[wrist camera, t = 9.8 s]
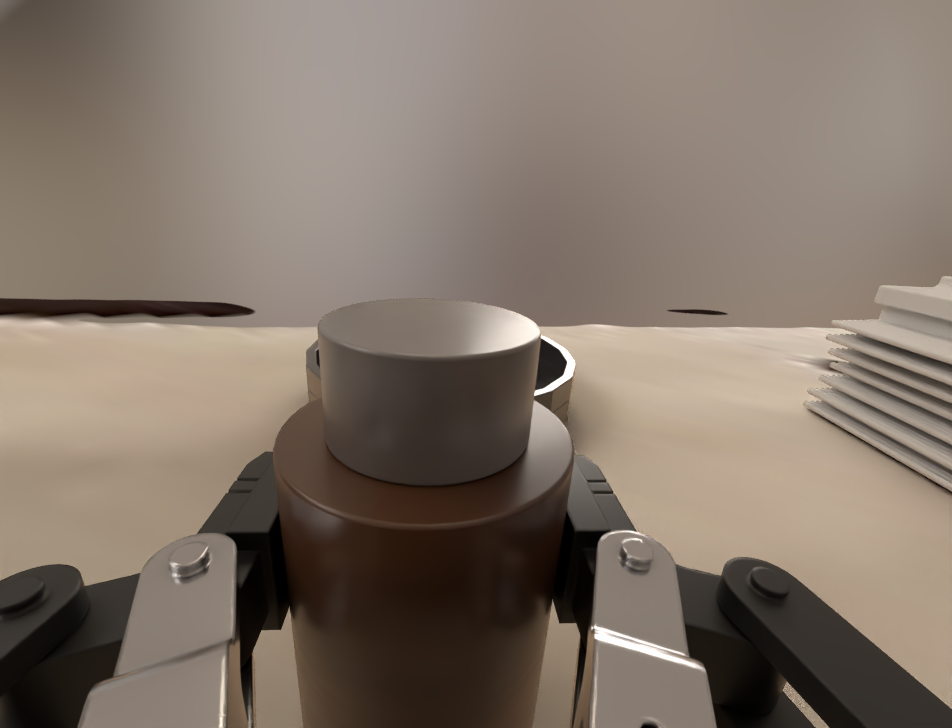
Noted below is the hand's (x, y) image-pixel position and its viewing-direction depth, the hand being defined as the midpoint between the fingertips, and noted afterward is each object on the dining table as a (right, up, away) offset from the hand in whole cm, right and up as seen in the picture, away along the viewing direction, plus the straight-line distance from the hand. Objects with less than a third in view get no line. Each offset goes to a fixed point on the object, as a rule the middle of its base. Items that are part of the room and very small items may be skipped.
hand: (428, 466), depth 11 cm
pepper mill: (0, -7, 0) cm, 7 cm away
